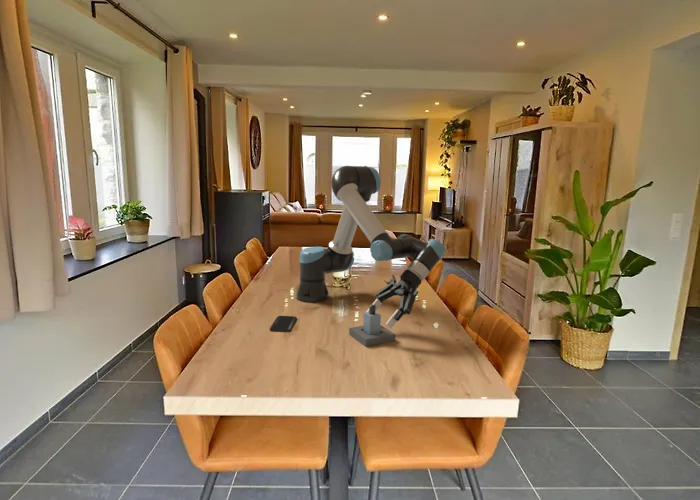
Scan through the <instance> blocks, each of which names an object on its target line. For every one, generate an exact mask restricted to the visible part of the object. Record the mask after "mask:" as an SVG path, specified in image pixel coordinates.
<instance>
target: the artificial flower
mask: <svg viewBox="0 0 700 500" xmlns="http://www.w3.org/2000/svg"><path fill="white" fill-rule="evenodd" d="M394 279H395V280H396V281H397V279H396V275H395V274H391V278H389V281H386V280H385V279H384V280H383V282H385V284H386V285H388V284H390V283H391V282H392V281H393V280H394ZM399 297H400V299H401V296H399Z"/></svg>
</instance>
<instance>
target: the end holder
mask: <svg viewBox="0 0 700 500" xmlns="http://www.w3.org/2000/svg"><path fill="white" fill-rule="evenodd" d="M363 326H364V325H359V326H353V327H349V328H348V335H349V336H351V338H353V339H355V340H356V341H358V342H359V343H360V344H361V345H363V346H364V347H369V346H370V347H371V346H375V345H379V344H385V343H390V342H395V341H396V334H395V332H393V331H391V329H390V330H389V329H388V328H386V327H385V326H383V325H381V324H380V333H378V334H373V335H368V334H366V333H365V332H363Z"/></svg>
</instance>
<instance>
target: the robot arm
mask: <svg viewBox="0 0 700 500" xmlns="http://www.w3.org/2000/svg"><path fill="white" fill-rule="evenodd" d="M330 182H331V183H330V184H331V190H332V193H333V194H334V196H335V198H336V199H337V201H339V202H342V204H343V207H342V208H343V209H342V211H341V215H340V219H339V221H338V225H337V227H336V231H335V234H334V236H333V239H332V240H331V241H329V243H328V245H327V248H325V247H323V246H311V247H305V248H304V249H302V250H301V251H300V253H299V284H298V287H297V290H296V292H295V293H296V295H295V298H296V299H297V300H298V301H301V302H306V303H318V302H319V303H320V302H323V301H324V302H325V301H326V300H329V295H330V294H329V293H330V292H329V289H328V287H327V283H326V275H327V274H334V273H335V274H336V273H339V272H340V273H341V272H345V271H348V270H350V269H351V268H352V266H353V265H354V262H355V253H354V251H353V247H352V243H353V240H354V237H355V234H356V232H357V228H358V226H359V228H360V230H361V232H363V235H364V236H365V237H366V238H367V240H368V242H369V243H370V247H369V252H370V255H371V257H372V259H374V261H378V262H384V261H386V262H387V261H389V260H395V259H402V258H411V259H412V260H411V262H410V263H409V265H408V266H407V267H406V269H405V270H404V271H403V272H402V273H401V275H400V276H399V277H400V279H399V280H397V279H396V280H395V279H394V280H393V281H392V282H391V283H390V284H386V285H385V286H384V287H383V288H382V289H381V288H380V290H378V291H377V292H376V293H375V294H374V297H375V299H374V301H373V302H372V303H371V305H376V310H375V312H377V310H378V309H379V308H380V307H381V305H383V302H384V301H386V300H388V299H390V298H392V297H394V296H399V297H401V298H400V300H399V301H400V302H399V308H397V309H396V310H395V311H394V313H393V314H392V315H391V316H390V318H389V319H388V320H387V321H386V323H385V325H386V326H387V327H388V328H389V329H390V330H392V329H393V327H394V326H395V325H396V323H398V321H400V319H401V318H402V317H403V316H404V315H410V314H411V312H412V309H413V306H414V303H415V300H416V297H417V296H418V294H419V291H418V290H417V289H418V288H419V287H420V285H421V284H422V281H424V280H425V279H426V277H428V275H429V274H430V272H431V271H432V270H433V268H434V267H435V266H436V265H437V264H438V263H439V262H440V260H441V258H442V257H443V256H444V255H445V253H446V247H445V246H444V244H443V243H442V242H441V241H440V240H438V239H435V238H430V239H429V240H428V241H427V242H425V241H423V240H420V239H418V238H415V237H414V236H412V235H409V234H406V233H402V234H400V235H399V236H397V237H396V238H392V237H391V235H390V234H389V233H388V232H387V230H386V228H384V226H383V224H382V223H381V221H379V218H378V217H377V216H376V215H375V213H374V212H373V210H372V209H371V208H370V206H369V204H367V203H368V202H370V201H371V197H372V195H374V194H376V193H378V192H379V190H380V188H381V183H382V181H381V176H380V173H379V172H378V170H377V169H376V168H375V167H372V166H367V165H364V166H362V165H361V166H360V165H359V166H357V165H355V166H354V165H343V166H341V167H339V168H337V169H336V170H335V171H334V173H333V174H332V176H331V181H330ZM365 312H369V308H368V309H367V310H366V311H365Z"/></svg>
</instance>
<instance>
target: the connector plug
mask: <svg viewBox="0 0 700 500" xmlns="http://www.w3.org/2000/svg"><path fill="white" fill-rule="evenodd" d="M368 309H369V312H366V311H365V312H363V325H362V326H363V332H365V333H366V334H368V335H373V334H378V333H380V325H381V322H382V321H381V319H382V316H381V314H380V313H379V312H377V310H376V305H372V304H369V308H368ZM375 310H376V312H375Z"/></svg>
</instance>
